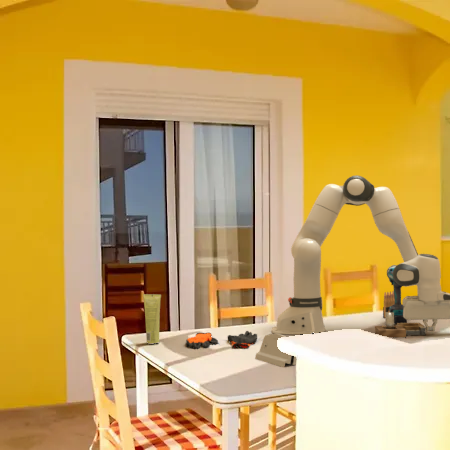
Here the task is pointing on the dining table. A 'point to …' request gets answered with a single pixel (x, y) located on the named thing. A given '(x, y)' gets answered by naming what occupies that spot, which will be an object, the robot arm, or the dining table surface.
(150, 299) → the tube
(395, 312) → the impact wrench
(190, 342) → the pair of gloves
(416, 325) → the square wooden frame
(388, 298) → the ammunition clip
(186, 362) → the dining table surface
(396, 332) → the socket block
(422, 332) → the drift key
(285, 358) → the grey flared block
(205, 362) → the dining table surface
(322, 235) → the robot arm
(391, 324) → the light bulb
